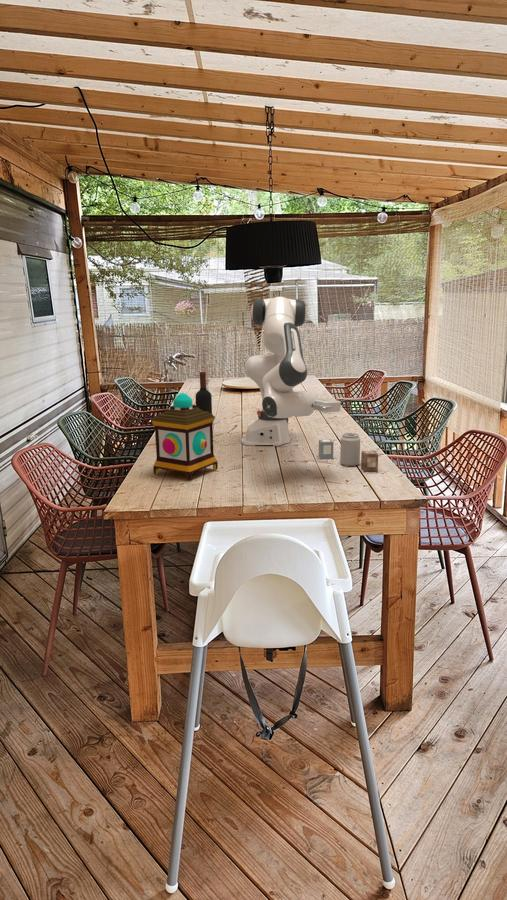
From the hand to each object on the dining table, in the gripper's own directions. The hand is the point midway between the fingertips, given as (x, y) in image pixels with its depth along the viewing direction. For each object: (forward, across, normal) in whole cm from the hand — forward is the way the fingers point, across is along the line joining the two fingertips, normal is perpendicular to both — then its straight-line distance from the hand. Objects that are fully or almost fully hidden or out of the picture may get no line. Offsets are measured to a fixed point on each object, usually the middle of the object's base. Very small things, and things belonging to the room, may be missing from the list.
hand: (331, 401), depth 214 cm
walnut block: (+10, -12, +25) cm, 30 cm away
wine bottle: (-3, +78, +28) cm, 84 cm away
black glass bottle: (+15, +103, +28) cm, 108 cm away
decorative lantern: (-43, +30, +29) cm, 60 cm away
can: (+11, -2, +25) cm, 28 cm away
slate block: (+11, +11, +25) cm, 30 cm away
